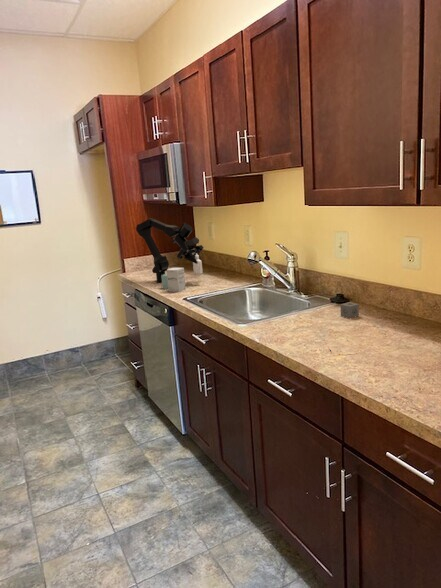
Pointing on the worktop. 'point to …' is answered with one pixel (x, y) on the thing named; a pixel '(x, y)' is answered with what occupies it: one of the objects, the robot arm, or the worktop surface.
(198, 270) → the eye dropper bottle
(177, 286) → the supplement box
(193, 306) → the worktop surface
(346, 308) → the dice cube
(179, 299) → the worktop surface
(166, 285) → the teal block
